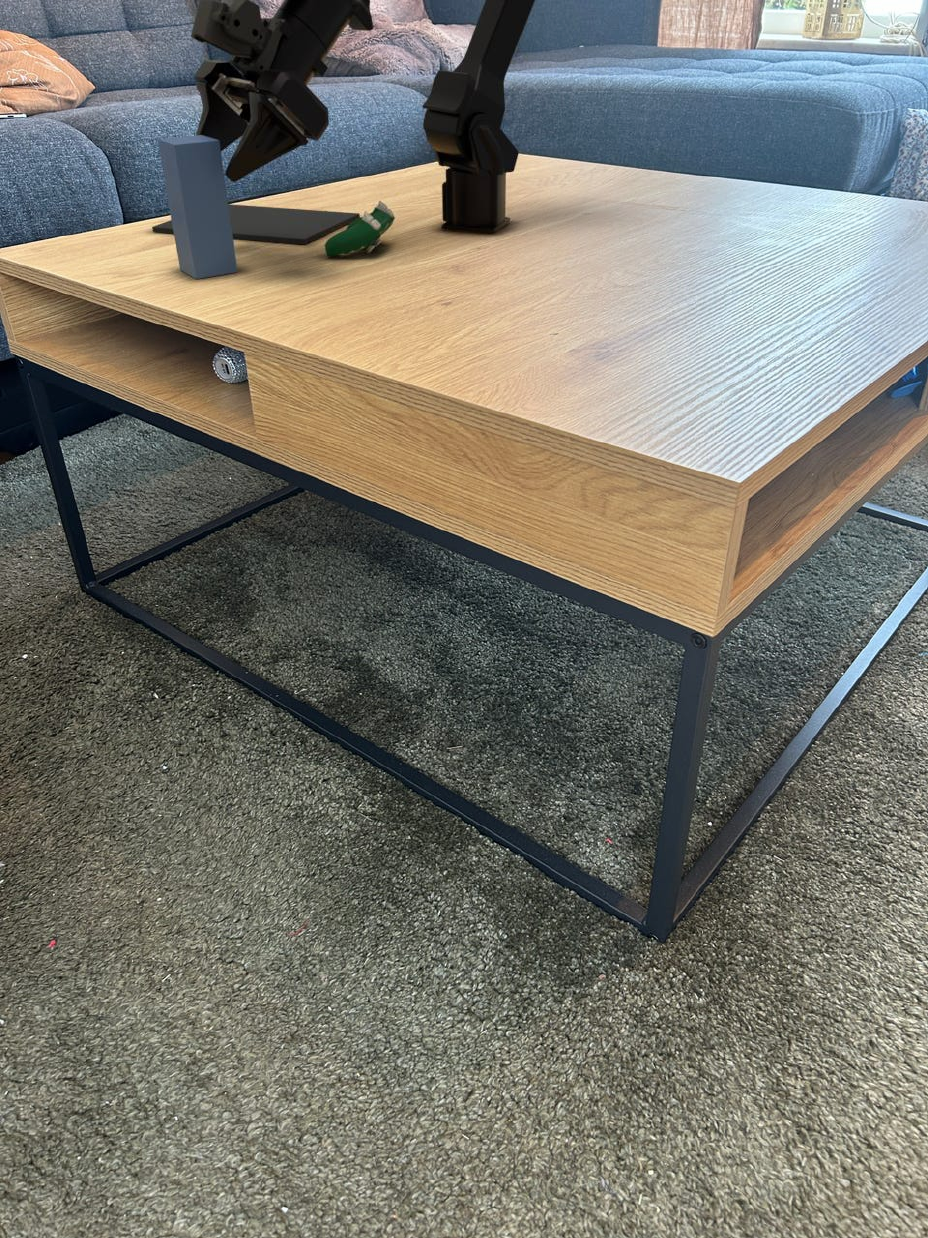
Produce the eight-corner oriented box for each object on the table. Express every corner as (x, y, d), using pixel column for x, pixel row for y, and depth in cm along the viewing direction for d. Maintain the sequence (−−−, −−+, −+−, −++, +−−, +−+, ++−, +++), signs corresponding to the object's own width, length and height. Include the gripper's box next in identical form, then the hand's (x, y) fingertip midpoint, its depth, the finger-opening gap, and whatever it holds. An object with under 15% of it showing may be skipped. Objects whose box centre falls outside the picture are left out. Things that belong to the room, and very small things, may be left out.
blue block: (220, 263, 99) (201, 134, 93) (237, 272, 96) (219, 139, 90) (179, 269, 97) (157, 138, 91) (196, 279, 94) (174, 144, 88)
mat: (360, 218, 117) (359, 213, 116) (305, 244, 106) (304, 238, 105) (218, 208, 122) (217, 203, 122) (152, 232, 112) (151, 226, 111)
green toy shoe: (345, 277, 101) (382, 236, 98) (318, 249, 100) (355, 207, 97) (369, 255, 109) (404, 217, 105) (345, 229, 107) (379, 190, 104)
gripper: (198, -38, 92) (108, 100, 93) (283, -40, 79) (178, 119, 80) (282, 53, 100) (198, 179, 101) (372, 64, 87) (275, 208, 88)
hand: (210, 171), depth 93 cm, fingers open, 9 cm apart
